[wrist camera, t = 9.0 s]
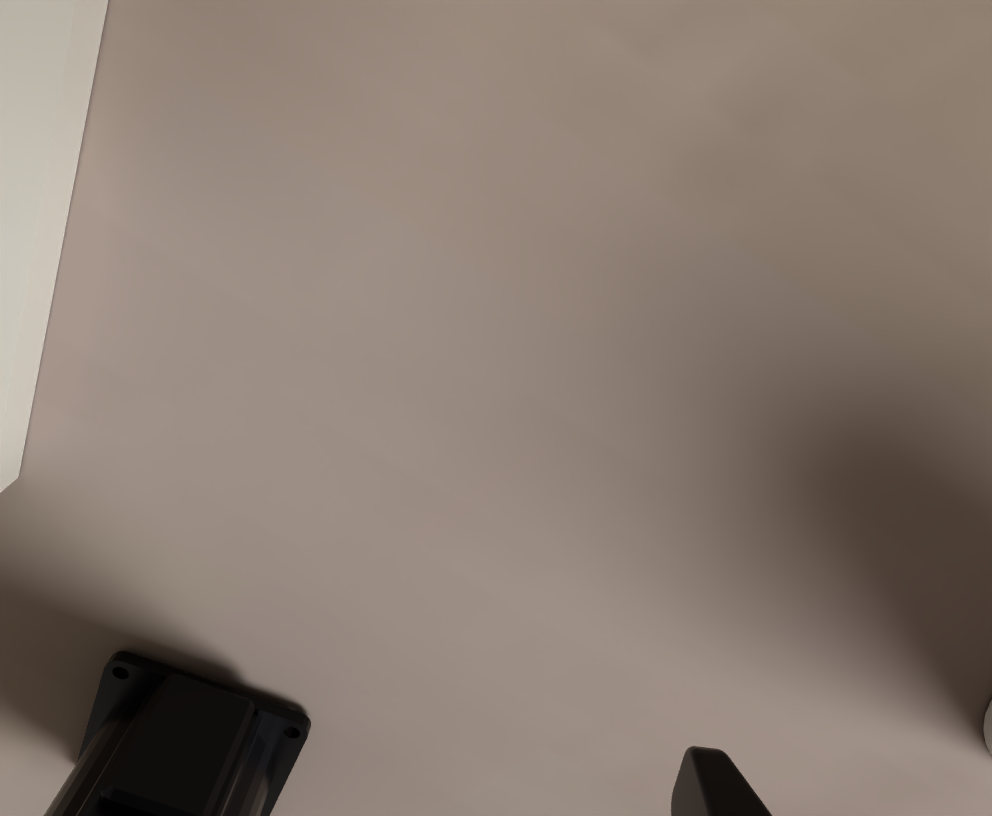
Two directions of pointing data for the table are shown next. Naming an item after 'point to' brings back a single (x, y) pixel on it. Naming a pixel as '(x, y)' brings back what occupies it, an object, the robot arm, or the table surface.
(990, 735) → the coffee cup
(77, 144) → the board
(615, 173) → the table surface
